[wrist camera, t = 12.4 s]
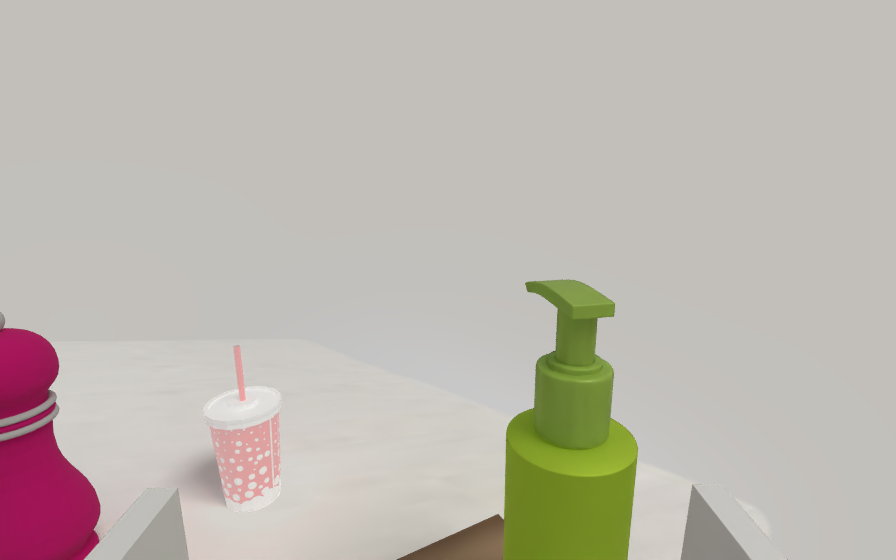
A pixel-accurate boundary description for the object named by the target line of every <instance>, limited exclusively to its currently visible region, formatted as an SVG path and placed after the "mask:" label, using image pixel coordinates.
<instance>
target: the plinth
mask: <svg viewBox="0 0 896 560" xmlns="http://www.w3.org/2000/svg"><path fill="white" fill-rule="evenodd" d="M503 550H504V520H503V519H502V518H501V517H500V516H499V514H497V515H495V516H493V517H491V518H488V519H486V520H484V521H482V522H479V523H477V524H475V525H473V526H471V527H468V528H466V529H464V530H462V531H459V532H457V533H455V534H453V535H450V536H448V537H446V538H444V539H442V540H439V541H437V542H435V543H433V544H430V545H428V546H426V547H424V548H422V549H419V550H417V551H415V552H413V553H410V554H408V555H406V556H404V557H402V558H399V559H397V560H503Z"/></svg>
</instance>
